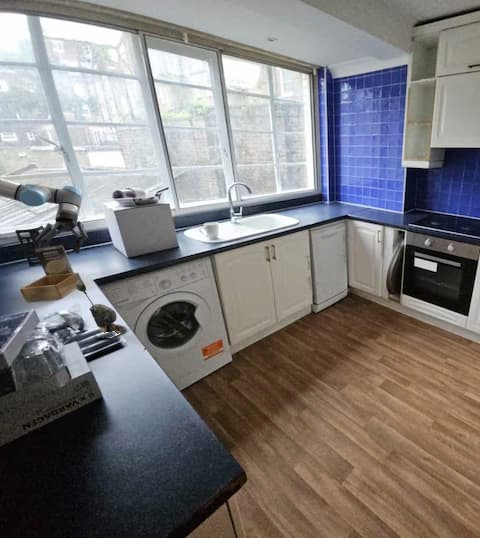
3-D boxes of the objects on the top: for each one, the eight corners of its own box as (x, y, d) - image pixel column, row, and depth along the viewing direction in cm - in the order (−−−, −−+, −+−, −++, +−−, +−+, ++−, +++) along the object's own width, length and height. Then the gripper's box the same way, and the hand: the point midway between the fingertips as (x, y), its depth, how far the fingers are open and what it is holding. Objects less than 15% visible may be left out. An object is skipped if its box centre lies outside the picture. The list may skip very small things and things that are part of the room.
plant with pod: (98, 347, 89) (72, 289, 82) (93, 333, 97) (68, 278, 89) (130, 335, 95) (108, 279, 87) (123, 322, 102) (102, 270, 94)
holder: (48, 258, 167) (35, 224, 159) (60, 259, 166) (47, 225, 158) (26, 265, 157) (10, 229, 149) (38, 267, 156) (23, 231, 148)
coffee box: (50, 285, 133) (33, 252, 126) (50, 281, 137) (34, 249, 131) (77, 279, 138) (62, 247, 132) (76, 275, 143) (62, 244, 136)
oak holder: (26, 302, 118) (19, 289, 116) (50, 287, 131) (45, 275, 128) (62, 298, 121) (56, 285, 118) (83, 284, 133) (78, 272, 131)
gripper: (101, 217, 150) (95, 254, 142) (44, 221, 145) (34, 259, 138) (91, 208, 143) (84, 247, 136) (30, 212, 138) (19, 252, 131)
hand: (59, 253), depth 137 cm, fingers open, 13 cm apart
